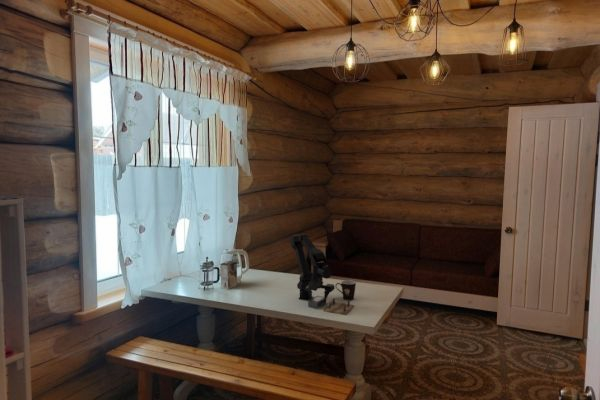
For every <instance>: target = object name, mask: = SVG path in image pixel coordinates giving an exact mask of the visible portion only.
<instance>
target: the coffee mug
mask: <svg viewBox="0 0 600 400" xmlns="http://www.w3.org/2000/svg"><path fill="white" fill-rule="evenodd" d="M356 284H357V282H356V281H355V280H352V279H343V280H342V281H341V283H340V282H337V283H336V284H335V289H337V291H338V292H340V293H341V294H342V299H343V300H344V301H353V300H354V299H355V295H356V292H355V291H356ZM337 285H340V286H341V290H340V289H339V288H338V287H337Z"/></svg>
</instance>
